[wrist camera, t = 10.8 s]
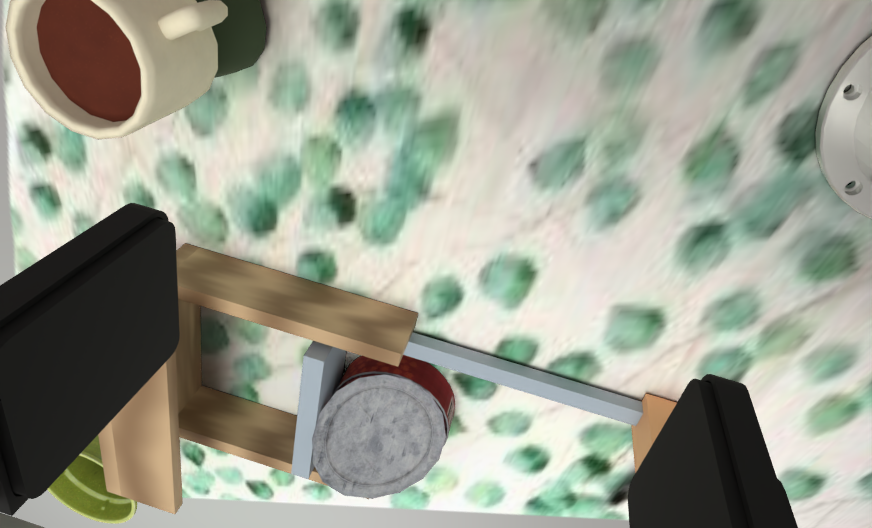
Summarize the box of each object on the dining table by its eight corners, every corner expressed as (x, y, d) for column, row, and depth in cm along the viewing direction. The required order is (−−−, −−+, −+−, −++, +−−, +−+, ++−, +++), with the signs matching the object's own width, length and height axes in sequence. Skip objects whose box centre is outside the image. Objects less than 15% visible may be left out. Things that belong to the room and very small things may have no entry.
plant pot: (183, 464, 62) (129, 538, 55) (99, 426, 62) (34, 495, 55) (197, 408, 57) (140, 481, 50) (106, 366, 57) (36, 433, 50)
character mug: (271, -79, 34) (122, -72, 23) (323, 46, 37) (212, 104, 26) (129, -10, 38) (-56, 23, 27) (187, 98, 41) (41, 167, 30)
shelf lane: (418, 313, 46) (372, 421, 36) (385, 453, 55) (341, 570, 45) (185, 243, 47) (82, 329, 38) (189, 390, 56) (106, 491, 46)
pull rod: (686, 405, 45) (700, 481, 39) (618, 516, 52) (622, 594, 46) (335, 299, 47) (298, 356, 41) (318, 420, 54) (285, 483, 48)
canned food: (360, 335, 55) (300, 354, 45) (467, 345, 51) (425, 368, 42) (357, 457, 55) (296, 501, 46) (462, 476, 52) (419, 528, 42)
